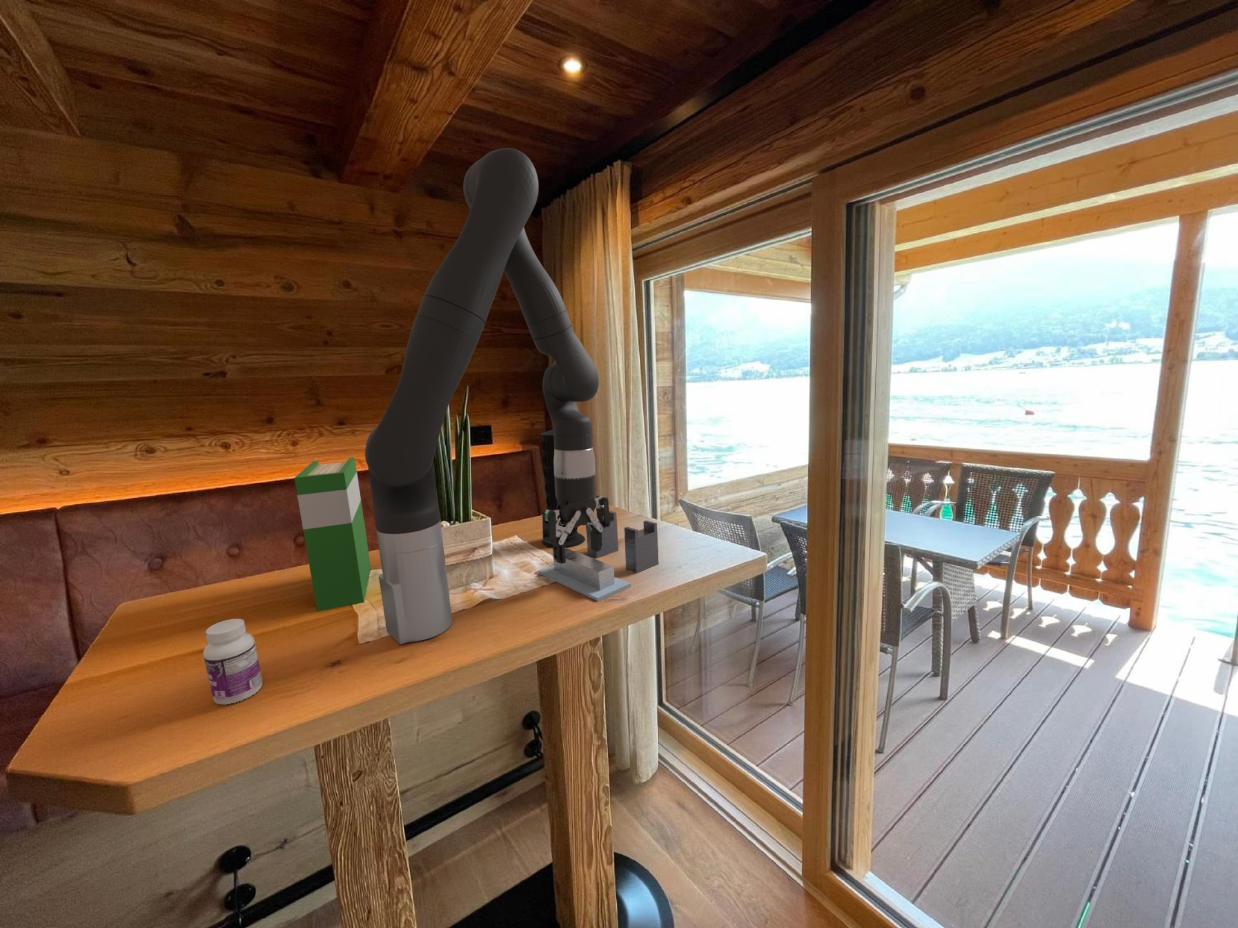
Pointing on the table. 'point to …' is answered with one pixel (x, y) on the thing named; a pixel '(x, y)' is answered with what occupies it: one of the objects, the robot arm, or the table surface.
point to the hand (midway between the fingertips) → (579, 556)
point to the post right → (641, 547)
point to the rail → (586, 570)
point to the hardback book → (334, 533)
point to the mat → (583, 587)
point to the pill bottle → (231, 662)
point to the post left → (605, 538)
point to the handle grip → (551, 499)
